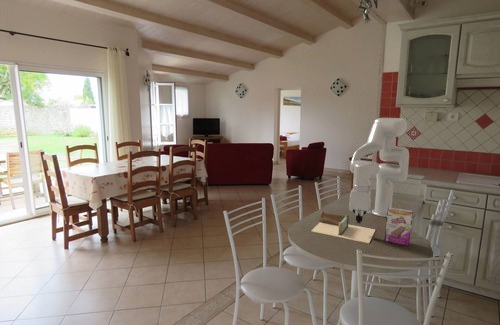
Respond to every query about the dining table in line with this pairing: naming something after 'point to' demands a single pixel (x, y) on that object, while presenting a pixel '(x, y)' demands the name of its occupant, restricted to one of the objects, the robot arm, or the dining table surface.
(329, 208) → the dining table surface
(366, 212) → the robot arm
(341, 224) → the hinged panel
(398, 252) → the dining table surface
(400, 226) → the candy bar box
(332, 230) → the card
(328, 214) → the fence base
